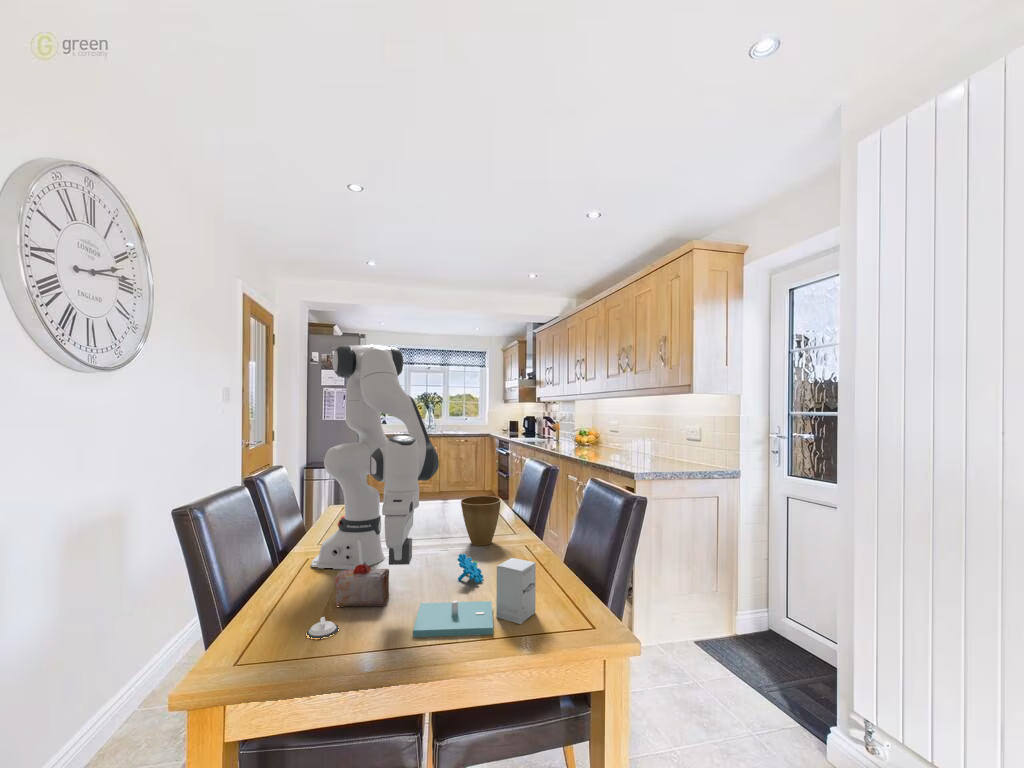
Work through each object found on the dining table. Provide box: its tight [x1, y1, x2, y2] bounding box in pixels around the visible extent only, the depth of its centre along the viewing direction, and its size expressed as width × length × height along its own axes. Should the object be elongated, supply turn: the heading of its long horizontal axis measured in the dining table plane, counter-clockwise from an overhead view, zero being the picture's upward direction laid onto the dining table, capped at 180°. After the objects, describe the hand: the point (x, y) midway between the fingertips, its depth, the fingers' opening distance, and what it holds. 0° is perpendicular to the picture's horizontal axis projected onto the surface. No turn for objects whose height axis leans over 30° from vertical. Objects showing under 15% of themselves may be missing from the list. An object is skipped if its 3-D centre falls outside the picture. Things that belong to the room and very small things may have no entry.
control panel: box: [412, 600, 494, 638], centre depth 112 cm, size 18×14×4 cm
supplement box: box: [495, 557, 537, 625], centre depth 115 cm, size 7×7×13 cm
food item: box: [334, 562, 390, 607], centre depth 122 cm, size 14×8×10 cm, turn 93°
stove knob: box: [306, 616, 340, 639], centre depth 107 cm, size 7×7×3 cm
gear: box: [456, 553, 484, 584], centre depth 137 cm, size 11×6×10 cm
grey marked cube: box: [388, 537, 413, 566], centre depth 118 cm, size 5×5×5 cm
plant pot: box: [460, 495, 502, 547], centre depth 173 cm, size 15×15×16 cm
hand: (400, 554), depth 118 cm, fingers closed on grey marked cube, 5 cm apart
